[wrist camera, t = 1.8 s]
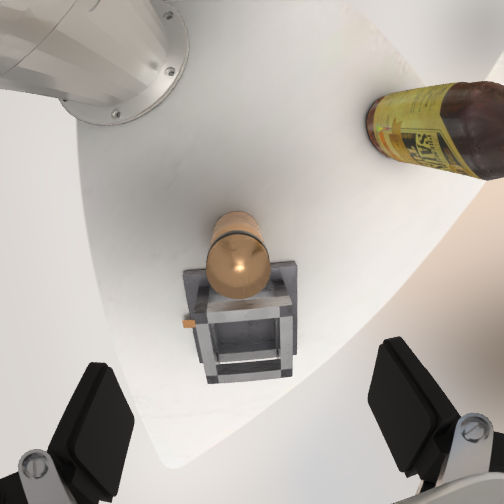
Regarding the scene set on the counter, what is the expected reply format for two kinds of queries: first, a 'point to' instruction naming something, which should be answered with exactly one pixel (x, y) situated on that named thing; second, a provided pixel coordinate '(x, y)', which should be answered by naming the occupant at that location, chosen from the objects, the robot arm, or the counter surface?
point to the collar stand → (244, 327)
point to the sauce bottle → (443, 127)
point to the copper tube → (237, 257)
